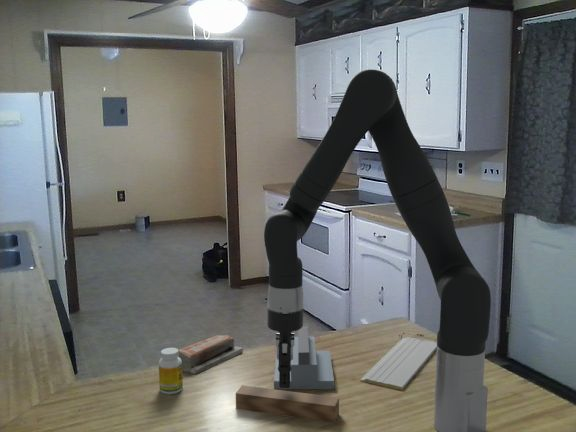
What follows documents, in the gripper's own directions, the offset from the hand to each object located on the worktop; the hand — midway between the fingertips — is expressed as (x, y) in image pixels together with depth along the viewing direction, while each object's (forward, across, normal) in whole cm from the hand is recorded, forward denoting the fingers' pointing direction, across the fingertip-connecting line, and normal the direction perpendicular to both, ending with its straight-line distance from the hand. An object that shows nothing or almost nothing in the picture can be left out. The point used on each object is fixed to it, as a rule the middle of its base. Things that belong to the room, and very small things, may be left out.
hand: (284, 378), depth 126 cm
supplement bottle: (+8, -11, -27) cm, 30 cm away
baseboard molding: (+8, -26, +30) cm, 40 cm away
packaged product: (+9, -29, -21) cm, 37 cm away
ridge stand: (+8, -20, +4) cm, 21 cm away
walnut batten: (+8, 0, 0) cm, 8 cm away
